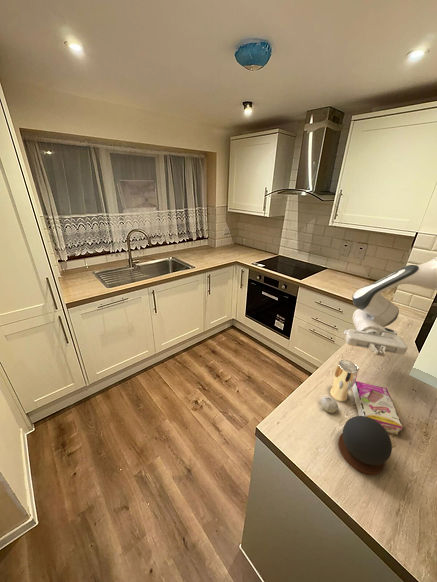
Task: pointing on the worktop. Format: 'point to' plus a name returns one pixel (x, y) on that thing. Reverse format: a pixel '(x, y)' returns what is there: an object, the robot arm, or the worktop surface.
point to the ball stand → (365, 445)
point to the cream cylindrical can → (344, 379)
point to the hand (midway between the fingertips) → (380, 354)
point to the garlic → (329, 404)
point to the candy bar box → (376, 406)
